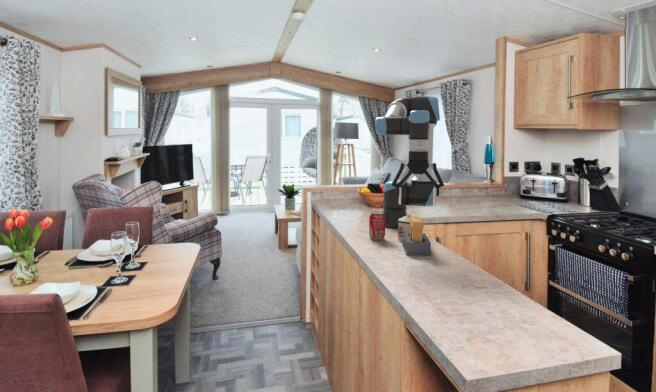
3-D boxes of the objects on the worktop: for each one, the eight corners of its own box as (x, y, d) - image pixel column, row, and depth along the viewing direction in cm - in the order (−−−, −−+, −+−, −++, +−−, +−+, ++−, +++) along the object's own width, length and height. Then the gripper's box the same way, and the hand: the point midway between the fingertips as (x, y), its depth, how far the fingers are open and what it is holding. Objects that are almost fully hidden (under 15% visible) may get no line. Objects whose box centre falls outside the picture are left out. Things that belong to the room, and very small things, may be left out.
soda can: (374, 236, 201) (375, 210, 200) (387, 238, 197) (388, 212, 195) (365, 239, 196) (366, 212, 194) (379, 241, 192) (379, 214, 190)
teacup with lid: (394, 238, 198) (395, 212, 197) (413, 237, 200) (414, 211, 199) (404, 244, 187) (405, 217, 185) (424, 243, 188) (425, 216, 187)
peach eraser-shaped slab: (412, 253, 172) (413, 222, 170) (409, 246, 184) (409, 216, 182) (422, 253, 171) (423, 222, 170) (418, 246, 183) (419, 216, 182)
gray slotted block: (406, 255, 169) (406, 242, 169) (402, 244, 186) (402, 232, 186) (430, 255, 169) (430, 242, 168) (424, 244, 186) (424, 233, 185)
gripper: (386, 151, 170) (386, 205, 173) (452, 151, 168) (450, 206, 171) (385, 150, 177) (385, 202, 180) (449, 150, 175) (447, 202, 178)
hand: (417, 204), depth 175 cm, fingers open, 13 cm apart
